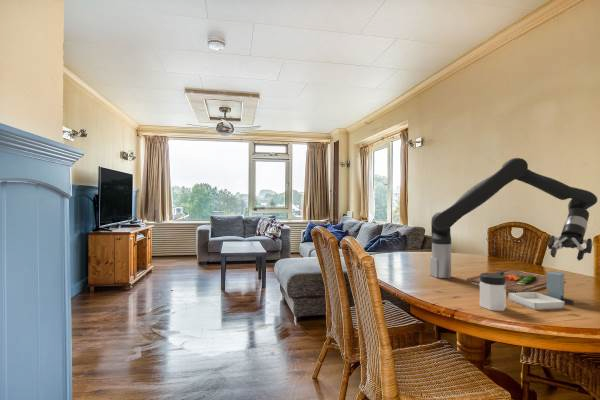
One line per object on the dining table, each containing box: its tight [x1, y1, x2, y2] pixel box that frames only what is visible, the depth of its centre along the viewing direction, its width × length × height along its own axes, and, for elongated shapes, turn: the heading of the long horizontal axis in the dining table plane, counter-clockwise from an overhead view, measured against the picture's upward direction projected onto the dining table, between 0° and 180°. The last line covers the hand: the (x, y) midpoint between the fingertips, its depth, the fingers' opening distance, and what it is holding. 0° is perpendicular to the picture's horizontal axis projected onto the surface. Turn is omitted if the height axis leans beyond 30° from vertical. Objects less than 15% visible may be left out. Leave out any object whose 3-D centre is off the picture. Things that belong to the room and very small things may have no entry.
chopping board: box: [466, 269, 547, 293], centre depth 157 cm, size 45×27×3 cm, turn 120°
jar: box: [479, 272, 507, 312], centre depth 120 cm, size 9×8×12 cm
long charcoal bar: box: [539, 292, 575, 305], centre depth 127 cm, size 11×2×2 cm, turn 35°
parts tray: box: [507, 291, 566, 311], centre depth 124 cm, size 12×12×2 cm
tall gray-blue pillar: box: [546, 271, 565, 300], centre depth 127 cm, size 4×5×11 cm
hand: (565, 257), depth 134 cm, fingers open, 8 cm apart
